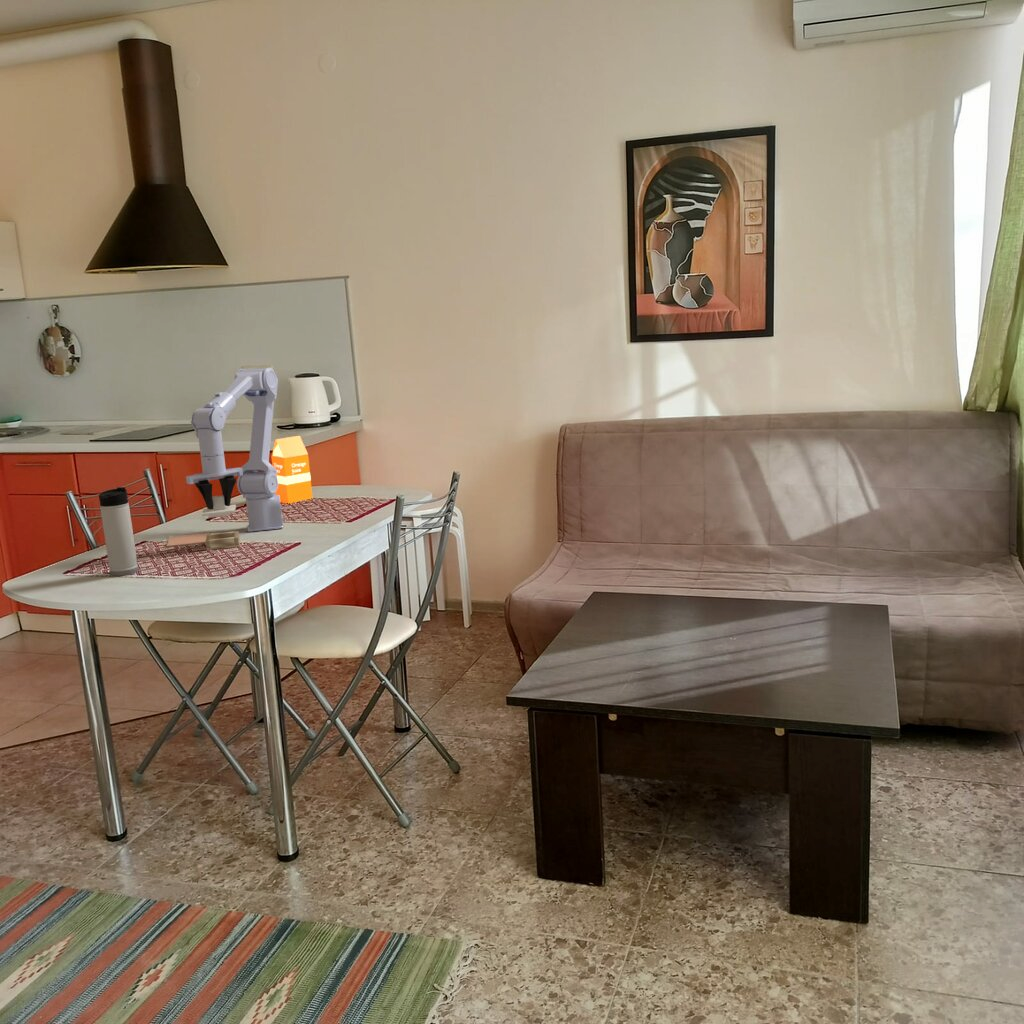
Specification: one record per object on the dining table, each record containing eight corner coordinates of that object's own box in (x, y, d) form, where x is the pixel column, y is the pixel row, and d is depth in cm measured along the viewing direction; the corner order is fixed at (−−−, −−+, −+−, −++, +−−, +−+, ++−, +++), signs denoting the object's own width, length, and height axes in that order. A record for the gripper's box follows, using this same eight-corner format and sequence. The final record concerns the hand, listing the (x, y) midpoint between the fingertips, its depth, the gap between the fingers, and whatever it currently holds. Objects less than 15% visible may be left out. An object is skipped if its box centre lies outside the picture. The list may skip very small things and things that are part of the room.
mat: (212, 533, 268) (212, 532, 268) (210, 542, 257) (210, 541, 257) (170, 538, 265) (170, 536, 265) (166, 547, 255) (166, 546, 255)
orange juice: (276, 501, 310) (269, 438, 306) (300, 496, 316) (293, 434, 311) (288, 503, 304) (281, 440, 300) (313, 498, 310) (306, 436, 306)
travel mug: (145, 569, 234) (133, 487, 230) (126, 576, 228) (113, 492, 223) (123, 568, 236) (111, 486, 232) (104, 575, 230) (91, 492, 226)
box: (239, 539, 259) (238, 531, 258) (239, 546, 251) (238, 537, 250) (208, 543, 257) (207, 534, 256) (206, 550, 249) (205, 541, 249)
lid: (236, 509, 257) (234, 492, 256) (235, 515, 249) (233, 498, 248) (204, 513, 255) (202, 495, 254) (202, 519, 247) (200, 501, 246)
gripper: (231, 449, 257) (237, 500, 259) (178, 458, 247) (185, 510, 250) (244, 451, 251) (250, 503, 254) (190, 460, 242) (197, 513, 245)
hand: (218, 507), depth 252 cm, fingers closed on lid, 4 cm apart
